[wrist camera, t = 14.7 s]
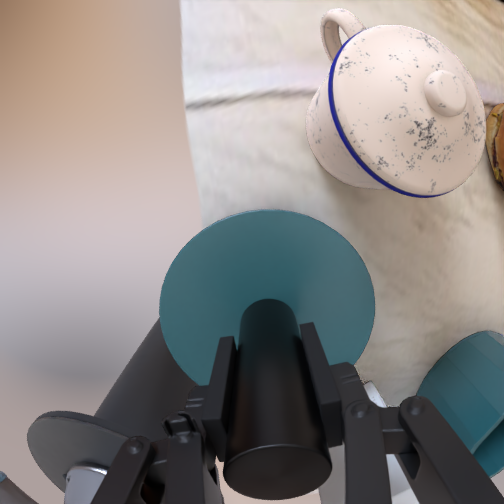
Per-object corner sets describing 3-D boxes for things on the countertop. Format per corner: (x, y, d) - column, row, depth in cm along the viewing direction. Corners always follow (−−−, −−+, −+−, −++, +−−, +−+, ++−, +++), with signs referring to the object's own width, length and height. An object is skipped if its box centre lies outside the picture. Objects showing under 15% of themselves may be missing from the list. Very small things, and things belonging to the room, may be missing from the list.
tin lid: (195, 405, 23) (160, 541, 10) (140, 232, 20) (-1, 305, 7) (371, 376, 22) (434, 504, 9) (358, 191, 19) (504, 213, 6)
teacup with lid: (431, 164, 20) (539, 161, 9) (336, 212, 21) (414, 242, 10) (361, 32, 18) (423, -49, 7) (259, 68, 19) (262, -29, 8)
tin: (406, 443, 27) (436, 506, 17) (419, 353, 24) (476, 423, 14) (491, 404, 26) (530, 450, 16) (514, 315, 23) (574, 355, 13)
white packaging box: (332, 450, 27) (354, 545, 14) (302, 414, 25) (321, 526, 13) (394, 419, 26) (437, 508, 14) (373, 377, 24) (427, 480, 12)
